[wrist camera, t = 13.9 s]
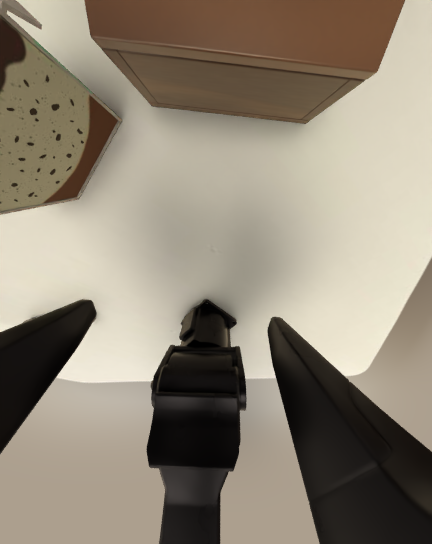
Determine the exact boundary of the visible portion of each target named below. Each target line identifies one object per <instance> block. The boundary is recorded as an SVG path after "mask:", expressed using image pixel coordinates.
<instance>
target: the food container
mask: <svg viewBox="0 0 432 544" xmlns="http://www.w3.org/2000/svg"><path fill="white" fill-rule="evenodd" d="M7 10H8V11H10V12H11V13H13V14H15V15H17V16H18V17H20V18H22V19H24V20H25V21H27V22H29V23H31V24H32V25H34V26H36V27H38V28H39V29H42V25H41V24H40V23H39V22H38V21H37V20H36V19H35V18H34V17H33V16H32V15H31V14H30V13H29V12H28V11H27V10H26V9H25V8H24V7H23V6H21V5H20V4H19V3H18V2H17V1H16V0H0V215H1V214H6V213H11V212H16V211H21V210H26V209H31V208H36V207H42V206H47V205H52V204H57V203H62V202H67V201H72V200H77V199H79V198H80V196H81V194H82V193H83V191H84V189H85V187H86V185H87V183H88V182H89V180H90V178H91V176H92V174H93V173H94V171H95V169H96V167H97V165H98V163H99V162H100V160H101V158H102V156H103V154H104V153H105V151H106V149H107V147H108V145H109V143H110V142H111V140H112V138H113V136H114V134H115V132H116V131H117V129H118V127H119V125H120V123H121V122H122V120H121V119H120V118H119V117H118V116H117V115H116V114H115V113H114V112H113V111H112V110H111V109H110V108H108V107H107V106H106V105H105V104H104V103H103V102H102V101H101V100H100V99H99V98H98V97H96V96H95V95H94V94H93V93H92V92H91V91H90V90H89V89H88V88H87V87H86V86H85V85H83V84H82V83H81V82H80V81H79V80H78V79H77V78H76V77H75V76H74V75H73V74H71V73H70V72H69V71H68V70H67V69H66V68H65V67H64V66H63V65H62V64H61V63H60V62H58V61H57V60H56V59H55V58H54V57H53V56H52V55H51V54H50V53H49V52H48V51H46V50H45V49H44V48H43V47H42V46H41V45H40V44H39V43H38V42H37V41H36V40H35V39H33V38H32V37H31V36H30V35H29V34H28V33H27V32H26V31H25V30H24V29H23V28H21V27H20V26H19V25H18V24H17V23H16V22H15V21H14V20H13V19H12V18H11V17H10V16H8V15H7Z"/></svg>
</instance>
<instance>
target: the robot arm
mask: <svg viewBox="0 0 432 544" xmlns="http://www.w3.org/2000/svg"><path fill="white" fill-rule="evenodd" d="M206 303H208V304H206ZM95 317H96V310H95V307H94V304H93V302H92V301H91V300H85V299H82V300H79V301H77V302H74V303H72V304H69V305H67V306H64V307H62V308H59V309H57V310H54V311H52V312H49V313H47V314H44V315H42V316H39V317H37V318H35V319H32V320H30V321H27V322H25V323H22V324H20V325H17V326H15V327H12V328H10V329H7V330H5V331H2V332H0V454H1V452H2V451H3V450H4V448H5V447H6V445H7V444H8V443H9V441H10V440H11V439H12V437H13V436H14V434H15V433H16V432H17V430H18V429H19V428H20V426H21V425H22V423H23V422H24V421H25V419H26V418H27V417H28V415H29V414H30V412H31V411H32V410H33V408H34V407H35V406H36V404H37V403H38V401H39V400H40V399H41V397H42V396H43V394H44V393H45V392H46V390H47V389H48V387H49V386H50V385H51V383H52V382H53V381H54V379H55V378H56V377H57V375H58V374H59V372H60V371H61V370H62V368H63V367H64V365H65V364H66V363H67V361H68V360H69V359H70V357H71V356H72V354H73V353H74V352H75V350H76V349H77V347H78V346H79V344H80V343H81V341H82V339H83V338H84V336H85V334H86V333H87V331H88V329H89V328H90V326H91V324H92V323H93V321H94V319H95ZM236 324H237V321H236V319H234V318H233V317H232V316H230V315H229V314H227V313H226V312H225V311H223V310H222V309H220V308H219V307H217V306H216V305H215V304H213V303H212V302H210V301H209V300H204V301H203V302H202V303H201V304H200V305H199V306H198V307H197V308H196V307H195V308H194V309H192V310H191V311H190V312H189V313H188V314H187V315H186V316H185V318H184V320H182V322H181V325H182V329H181V332H180V336H179V338H180V340H182V341H181V345H180V346H175V345H170V347H169V349H168V351H167V352H166V354H165V356H164V358H163V360H162V361H161V363H160V365H159V367H158V369H157V371H156V373H155V375H154V378H153V381H152V383H151V389H152V397H151V400H152V406H153V407H154V412H153V420H152V425H151V430H150V435H149V439H148V444H147V456H148V462H149V467H150V468H159V470H160V474H161V477H162V480H163V483H164V487H165V498H164V508H163V516H162V524H161V533H160V541H159V544H220V492H221V489H222V487H223V484H224V482H225V479H226V477H227V475H228V472H229V471H233V470H234V467H235V464H236V461H237V458H238V455H239V445H240V410H244V411H245V410H246V384H245V383H246V382H245V374H244V368H243V362H242V357H241V352H240V347H239V346H235V347H231V341H230V329H231V328H232V327H233V326H235V325H236ZM268 338H269V344H270V351H271V357H272V363H273V367H274V371H275V375H276V379H277V383H278V386H279V390H280V394H281V398H282V402H283V405H284V409H285V413H286V417H287V421H288V424H289V428H290V432H291V435H292V440H293V443H294V447H295V451H296V455H297V459H298V462H299V466H300V470H301V473H302V478H303V481H304V485H305V489H306V492H307V497H308V500H309V504H310V509H311V512H312V516H313V519H314V524H315V528H316V531H317V535H318V539H319V542H320V544H432V452H431V451H430V450H429V449H428V448H426V447H425V446H424V445H423V444H422V443H420V442H419V441H418V440H417V439H416V438H414V437H413V436H412V435H411V434H410V433H408V432H407V431H406V430H405V429H404V428H402V427H401V426H400V425H399V424H398V423H396V422H395V421H394V420H393V419H392V418H391V417H389V416H388V415H387V414H386V413H385V412H384V411H382V410H381V409H380V408H379V407H378V406H376V405H375V404H374V403H373V402H372V401H371V400H370V399H369V398H368V397H367V396H365V395H364V394H363V393H362V392H361V391H360V390H359V389H358V388H356V387H355V385H353V384H352V383H351V382H349V380H348V379H347V378H346V377H345V376H344V375H342V374H341V373H340V372H339V371H338V370H337V369H336V368H335V367H334V366H333V365H332V364H331V363H329V362H328V361H327V360H326V359H325V358H324V357H323V356H322V355H321V354H320V353H319V352H318V351H316V350H315V349H314V348H313V347H312V346H311V345H310V344H309V343H308V342H307V341H306V340H305V339H303V338H302V337H301V336H300V335H299V334H298V333H297V332H296V331H295V330H294V329H293V328H292V327H290V326H289V325H288V324H287V323H286V322H285V321H284V320H283V319H282V318H280V317H272V318H271V321H270V324H269V327H268Z"/></svg>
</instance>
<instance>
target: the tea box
mask: <svg viewBox="0 0 432 544" xmlns="http://www.w3.org/2000/svg"><path fill="white" fill-rule="evenodd" d="M101 49H102V50H103V51H104V53H105V54H106V55H107V56H108V57H109V58H110V59H111V60H112V62H113V63H114V64H115V65H116V66H117V67H118V68H119V69H120V71H121V72H122V73H123V74H124V75H125V76H126V77H127V78H128V80H129V81H130V82H131V83H132V84H133V85H134V86H135V87H136V89H137V90H138V91H139V92H140V93H141V94H142V95H143V96H144V97H145V99H146V100H147V101H148V102H149V103H150V104H151V105H152V106H156V107H165V108H173V109H182V110H191V111H200V112H208V113H217V114H226V115H234V116H243V117H252V118H261V119H269V120H278V121H287V122H295V123H304V124H306V123H307V122H309V121H310V120H311V119H312V118H314V117H315V116H317V115H318V114H319V113H321V112H322V111H324V110H325V109H326V108H328V107H329V106H331V105H332V104H333V103H335V102H336V101H337V100H339V99H340V98H342V97H343V96H344V95H346V94H347V93H349V92H350V91H351V90H353V89H354V88H355V87H357V86H358V85H360V84H361V83H362V82H364V81H365V79H357V78H348V77H340V76H332V75H324V74H315V73H307V72H299V71H290V70H282V69H274V68H266V67H257V66H249V65H241V64H232V63H224V62H216V61H208V60H199V59H191V58H183V57H174V56H166V55H158V54H150V53H141V52H133V51H125V50H116V49H108V48H101Z"/></svg>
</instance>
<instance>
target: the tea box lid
mask: <svg viewBox="0 0 432 544" xmlns="http://www.w3.org/2000/svg"><path fill="white" fill-rule="evenodd" d="M404 2H405V0H85V6H86V12H87V18H88V23H89V29H90V35H91V37H92V39H93V40H94V41H95V42H96V43H97V45H98V46H99V47H101V48H108V49H116V50H125V51H133V52H141V53H150V54H158V55H166V56H174V57H183V58H191V59H199V60H208V61H216V62H224V63H232V64H241V65H249V66H257V67H266V68H274V69H282V70H290V71H299V72H307V73H315V74H324V75H332V76H340V77H348V78H357V79H365V80H366V79H368V78H370V77H371V76H372V75H374V74H375V73H376V72H377V71H378V69H379V66H380V64H381V61H382V59H383V56H384V53H385V51H386V48H387V46H388V43H389V41H390V38H391V35H392V33H393V30H394V28H395V25H396V22H397V20H398V17H399V15H400V12H401V9H402V7H403V4H404Z"/></svg>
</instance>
